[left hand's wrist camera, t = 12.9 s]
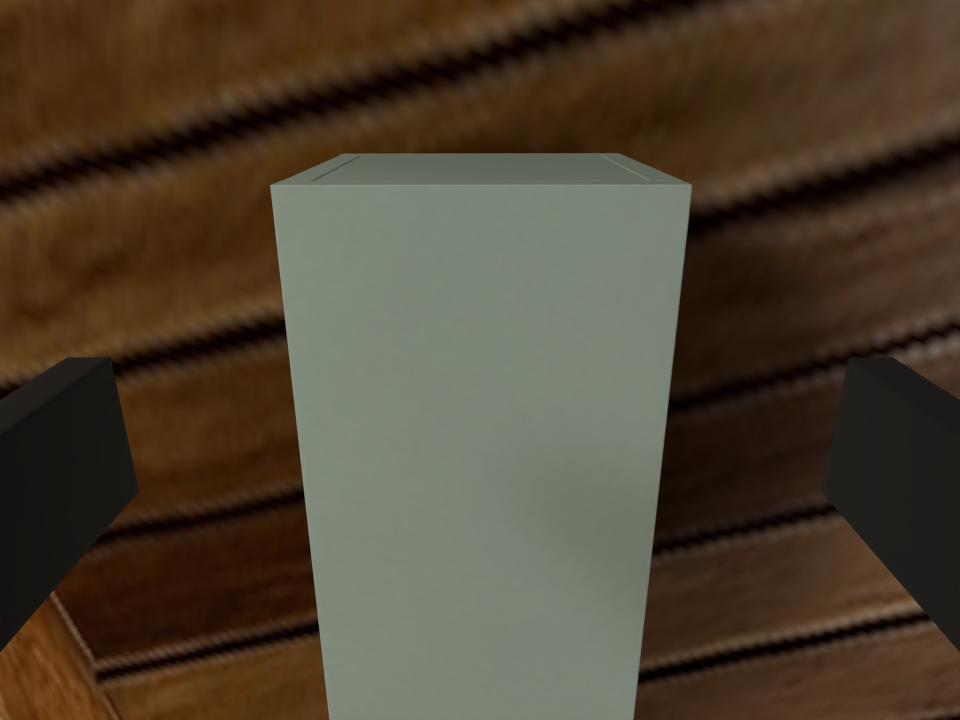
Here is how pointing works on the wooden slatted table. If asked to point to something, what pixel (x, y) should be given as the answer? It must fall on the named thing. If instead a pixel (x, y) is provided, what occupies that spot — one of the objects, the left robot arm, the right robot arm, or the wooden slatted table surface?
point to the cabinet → (481, 423)
